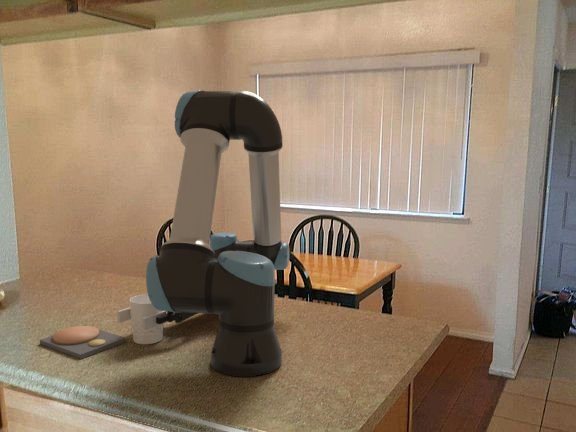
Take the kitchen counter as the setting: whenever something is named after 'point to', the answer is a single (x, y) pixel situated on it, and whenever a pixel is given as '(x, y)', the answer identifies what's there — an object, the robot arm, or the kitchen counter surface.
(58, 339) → the board
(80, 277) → the kitchen counter surface
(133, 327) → the white cup
